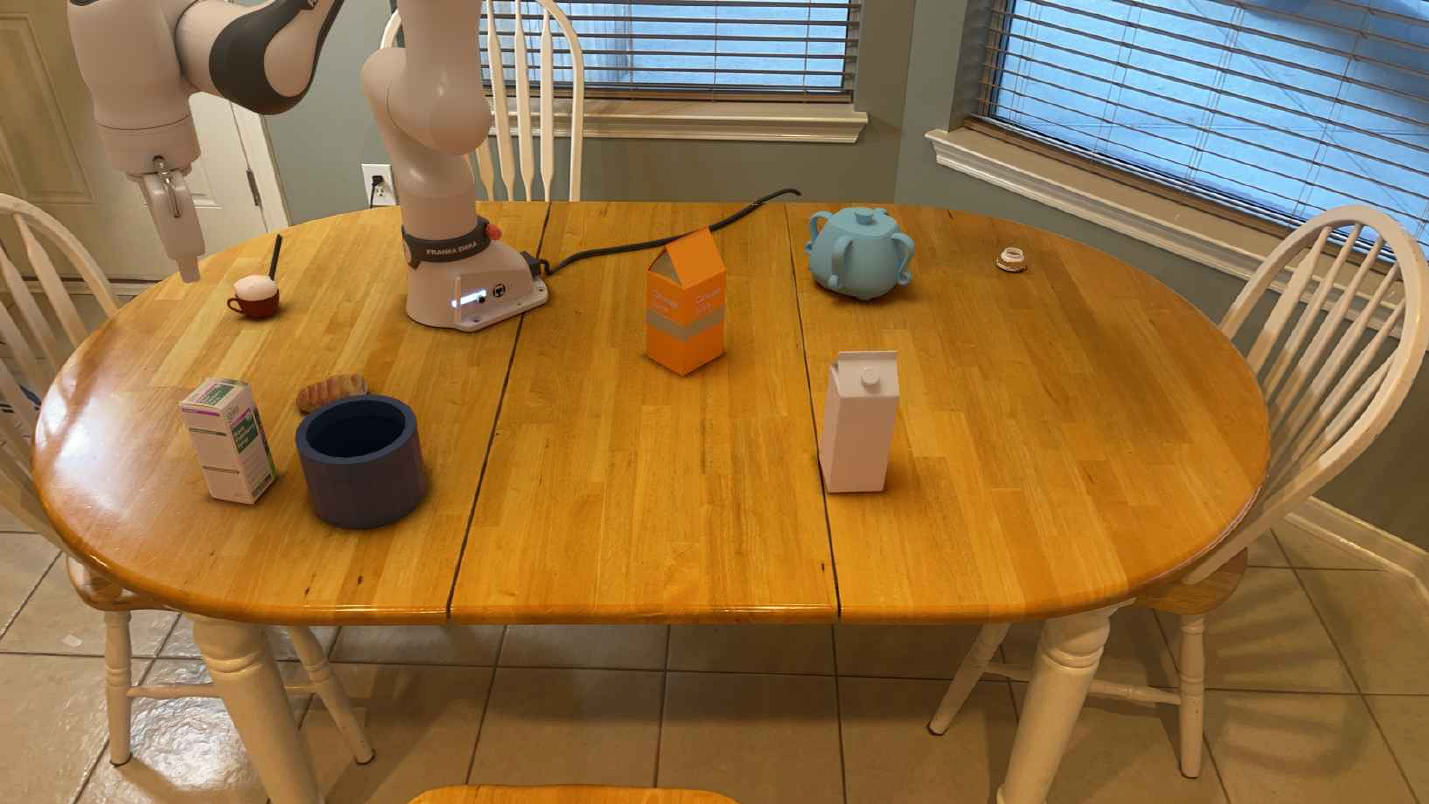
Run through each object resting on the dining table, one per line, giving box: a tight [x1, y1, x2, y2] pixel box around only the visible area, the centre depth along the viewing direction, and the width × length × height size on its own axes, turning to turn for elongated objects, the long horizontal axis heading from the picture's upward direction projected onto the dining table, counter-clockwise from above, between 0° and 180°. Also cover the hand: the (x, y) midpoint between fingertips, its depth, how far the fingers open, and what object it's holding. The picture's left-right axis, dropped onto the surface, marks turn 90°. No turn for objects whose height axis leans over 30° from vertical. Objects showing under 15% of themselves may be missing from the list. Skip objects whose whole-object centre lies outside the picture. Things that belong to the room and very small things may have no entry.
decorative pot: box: [804, 206, 916, 301], centre depth 170 cm, size 16×16×14 cm
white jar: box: [995, 247, 1026, 272], centre depth 180 cm, size 5×3×5 cm
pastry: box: [295, 372, 369, 414], centre depth 140 cm, size 9×7×4 cm
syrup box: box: [177, 376, 278, 505], centre depth 122 cm, size 6×6×14 cm
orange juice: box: [645, 225, 727, 377], centre depth 148 cm, size 8×9×20 cm
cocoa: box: [226, 233, 283, 319], centre depth 156 cm, size 10×6×12 cm, turn 104°
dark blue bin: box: [294, 393, 427, 530], centre depth 123 cm, size 14×14×10 cm
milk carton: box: [818, 350, 900, 493], centre depth 126 cm, size 7×7×19 cm
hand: (183, 261), depth 113 cm, fingers open, 8 cm apart
